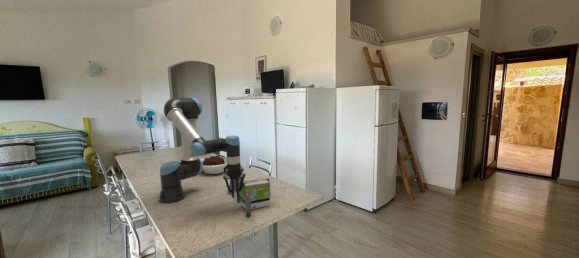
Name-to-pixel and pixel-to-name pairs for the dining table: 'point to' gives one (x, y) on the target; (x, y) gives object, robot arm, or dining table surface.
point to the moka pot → (234, 179)
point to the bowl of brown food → (214, 165)
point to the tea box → (256, 192)
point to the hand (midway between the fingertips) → (235, 202)
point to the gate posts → (247, 201)
